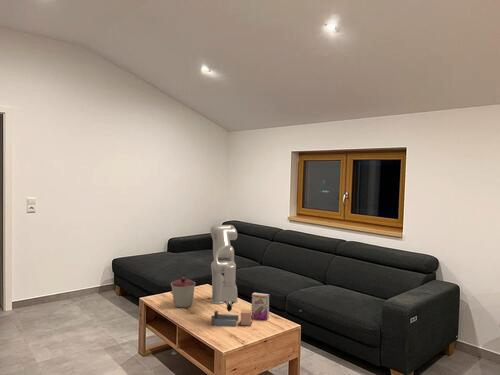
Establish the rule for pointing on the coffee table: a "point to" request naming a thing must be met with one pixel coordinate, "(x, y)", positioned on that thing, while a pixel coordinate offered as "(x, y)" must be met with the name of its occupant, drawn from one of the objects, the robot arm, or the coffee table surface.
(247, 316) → the block
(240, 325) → the mat
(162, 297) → the coffee table surface
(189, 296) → the canister
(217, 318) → the grey u-shaped bracket
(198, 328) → the coffee table surface
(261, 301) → the candy bar box
